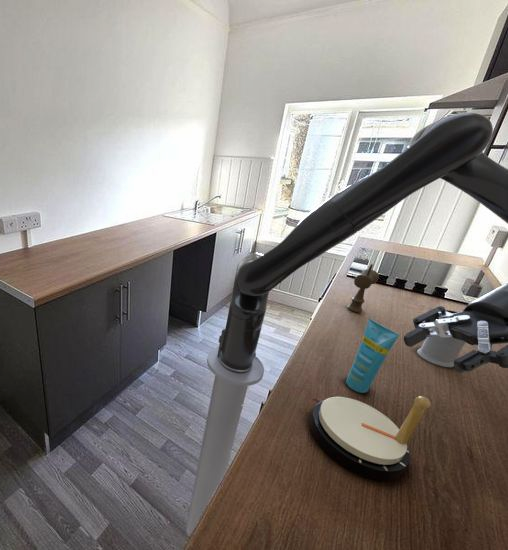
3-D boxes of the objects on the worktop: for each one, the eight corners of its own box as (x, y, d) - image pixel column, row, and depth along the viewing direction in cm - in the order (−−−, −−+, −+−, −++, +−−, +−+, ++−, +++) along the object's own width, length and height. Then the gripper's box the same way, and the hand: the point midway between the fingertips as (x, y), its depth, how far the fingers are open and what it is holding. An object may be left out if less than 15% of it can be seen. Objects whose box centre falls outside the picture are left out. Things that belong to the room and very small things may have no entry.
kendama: (366, 309, 120) (385, 263, 112) (358, 316, 114) (378, 269, 106) (349, 303, 124) (366, 259, 116) (341, 310, 118) (358, 263, 110)
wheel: (316, 437, 60) (336, 389, 55) (320, 392, 72) (337, 348, 66) (411, 481, 53) (444, 430, 48) (398, 422, 64) (423, 376, 59)
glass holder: (410, 351, 95) (431, 311, 89) (437, 344, 99) (458, 305, 93) (443, 369, 87) (468, 326, 81) (471, 360, 92) (496, 319, 86)
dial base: (292, 424, 66) (296, 414, 65) (337, 399, 74) (341, 390, 73) (375, 498, 53) (382, 487, 52) (419, 458, 60) (426, 448, 59)
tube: (337, 378, 81) (362, 318, 73) (350, 375, 83) (375, 316, 75) (364, 398, 75) (393, 335, 67) (377, 394, 76) (407, 332, 69)
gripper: (462, 279, 57) (387, 321, 58) (573, 304, 43) (473, 359, 44) (469, 310, 59) (397, 350, 60) (578, 344, 45) (482, 395, 46)
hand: (429, 354), depth 52 cm, fingers open, 8 cm apart
